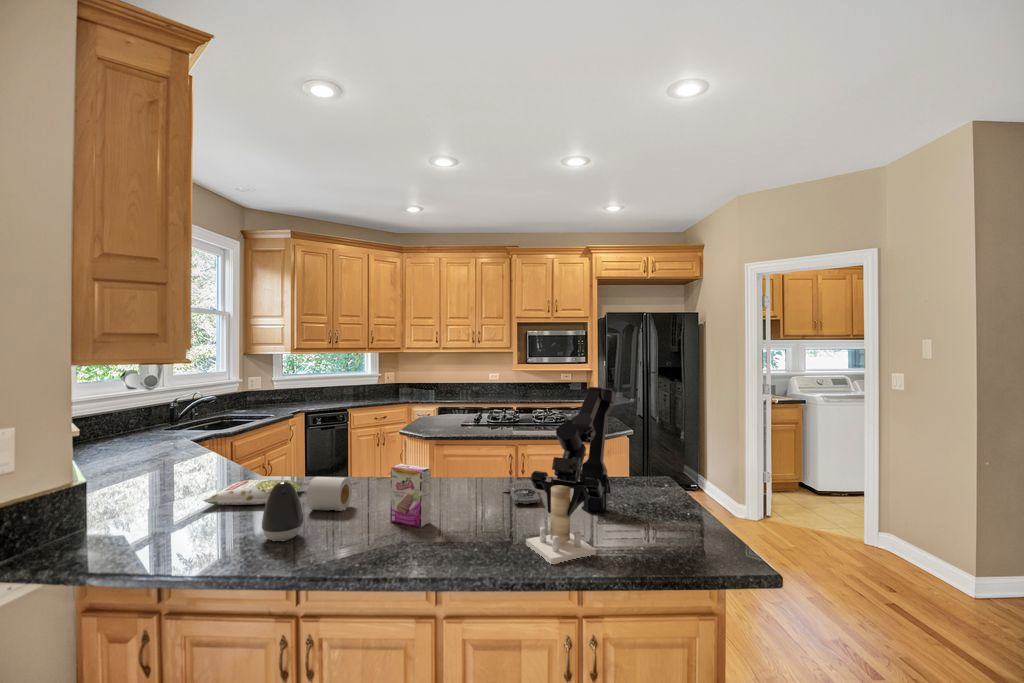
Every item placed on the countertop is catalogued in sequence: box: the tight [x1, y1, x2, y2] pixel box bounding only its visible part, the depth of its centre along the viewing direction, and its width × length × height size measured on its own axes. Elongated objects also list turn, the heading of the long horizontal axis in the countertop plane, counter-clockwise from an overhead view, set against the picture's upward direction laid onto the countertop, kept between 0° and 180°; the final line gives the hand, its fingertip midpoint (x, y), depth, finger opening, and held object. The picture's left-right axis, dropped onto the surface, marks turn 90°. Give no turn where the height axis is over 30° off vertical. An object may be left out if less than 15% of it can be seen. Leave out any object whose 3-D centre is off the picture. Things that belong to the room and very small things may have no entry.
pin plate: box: [525, 526, 597, 565], centre depth 129 cm, size 13×13×5 cm
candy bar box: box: [389, 463, 431, 528], centre depth 147 cm, size 11×5×16 cm, turn 65°
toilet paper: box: [306, 476, 353, 512], centre depth 158 cm, size 10×10×10 cm
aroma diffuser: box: [261, 481, 304, 542], centre depth 135 cm, size 10×10×15 cm
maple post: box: [549, 485, 571, 543], centre depth 129 cm, size 5×5×13 cm
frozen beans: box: [202, 479, 305, 506], centre depth 167 cm, size 21×6×25 cm
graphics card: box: [501, 482, 541, 505], centre depth 170 cm, size 17×4×12 cm
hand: (558, 513), depth 127 cm, fingers closed on maple post, 5 cm apart
